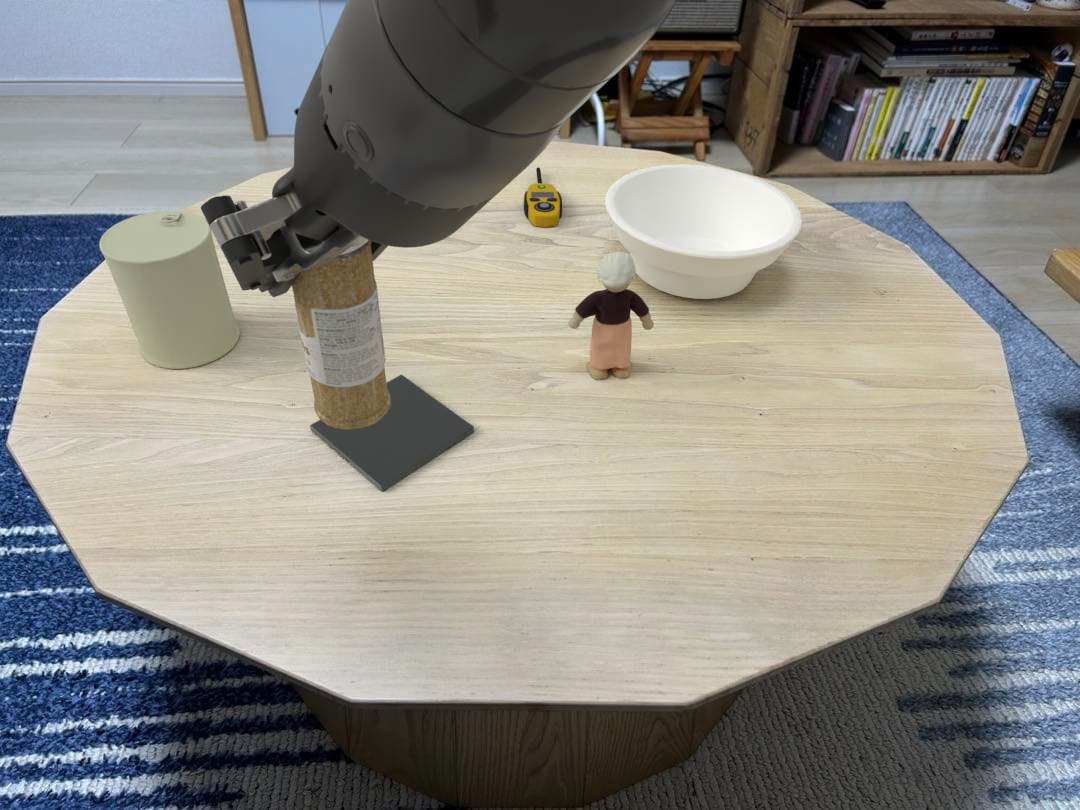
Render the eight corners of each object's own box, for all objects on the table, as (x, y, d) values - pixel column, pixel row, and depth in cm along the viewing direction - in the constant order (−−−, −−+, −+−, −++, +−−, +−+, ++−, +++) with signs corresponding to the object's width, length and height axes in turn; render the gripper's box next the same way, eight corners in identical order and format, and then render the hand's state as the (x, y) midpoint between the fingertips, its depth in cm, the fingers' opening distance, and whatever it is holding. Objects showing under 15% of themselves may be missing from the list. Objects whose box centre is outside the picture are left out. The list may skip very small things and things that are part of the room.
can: (254, 316, 78) (226, 209, 70) (217, 373, 71) (181, 261, 63) (167, 309, 79) (129, 201, 71) (121, 365, 72) (74, 252, 64)
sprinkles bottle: (316, 386, 47) (275, 180, 38) (392, 380, 48) (368, 176, 39) (312, 437, 44) (266, 224, 35) (393, 430, 44) (368, 219, 36)
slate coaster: (382, 492, 61) (381, 487, 61) (310, 430, 66) (309, 425, 66) (474, 431, 67) (474, 426, 66) (401, 378, 72) (401, 373, 71)
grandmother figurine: (634, 352, 76) (651, 238, 68) (648, 376, 73) (668, 261, 65) (560, 363, 74) (568, 248, 66) (572, 388, 72) (582, 271, 63)
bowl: (640, 210, 98) (648, 149, 93) (803, 255, 91) (822, 191, 86) (567, 288, 84) (571, 220, 79) (753, 347, 77) (773, 278, 72)
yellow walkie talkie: (525, 213, 93) (520, 160, 104) (525, 227, 94) (520, 173, 105) (565, 213, 93) (556, 160, 104) (564, 228, 94) (555, 173, 105)
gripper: (541, -27, 30) (396, 164, 44) (173, 33, 22) (144, 238, 37) (624, 151, 30) (453, 282, 45) (292, 266, 23) (217, 378, 38)
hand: (314, 261), depth 41 cm, fingers closed on sprinkles bottle, 4 cm apart
